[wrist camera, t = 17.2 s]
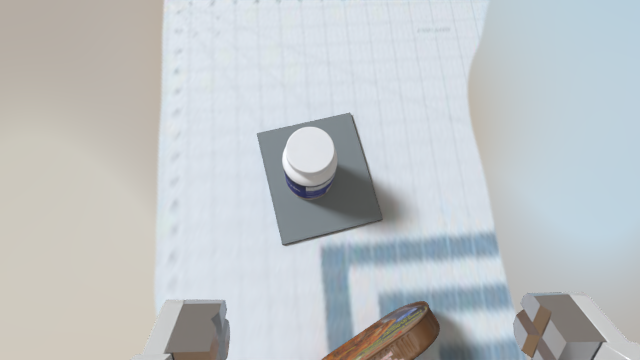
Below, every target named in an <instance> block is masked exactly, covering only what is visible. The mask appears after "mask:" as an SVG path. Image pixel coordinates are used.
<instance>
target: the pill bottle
mask: <svg viewBox="0 0 640 360" xmlns="http://www.w3.org/2000/svg"><path fill="white" fill-rule="evenodd" d="M282 163H283V169H284V174H285V179H286V183H287V186H288V188H289V189H290V190H291V192H292V193H293V194H294V195H296V196H297V197H299V198H302V199H308V200H311V199H317V198H319V197H321V196H323V195H324V194H326V193H327V192H328V190H329V189H330V187H331V185H332V183H333V180H334V176H335V172H336V167H337V153H336V150H335V148H334V143H333V141H332V139H331V137H330V136H329V135H328V134H327V133H326V132H325V131H323V130H322V129H319V128H316V127H304V128H301V129H298V130H297V131H295V132H294V133H293V134H292V135H291V136H290V138H289V139H288V141H287V144H286V147H285V149H284V152H283V157H282Z"/></svg>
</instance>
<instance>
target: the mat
mask: <svg viewBox="0 0 640 360" xmlns="http://www.w3.org/2000/svg"><path fill="white" fill-rule="evenodd" d="M304 127H316V128H319V129H322V130H323V131H325V132H326V133H327V134H328V135H329V136H330V137H331V139H332V141H333V143H334V148H335V150H336V153H337V167H336V172H335V176H334V180H333V183H332V185H331V187H330V189H329V190H328V192H327V193H326V194H324V195H323V196H321V197H319V198H317V199H311V200H308V199H302V198H299V197H297V196H296V195H294V194H293V193H292V192H291V190H290V189H289V188H288V186H287V183H286V179H285V174H284V169H283V163H282V157H283V152H284V149H285V147H286V144H287V141H288V139H289V138H290V136H291V135H292V134H293V133H294V132H295V131H297V130H298V129H301V128H304ZM257 137H258V141H259V145H260V150H261V154H262V158H263V163H264V167H265V171H266V176H267V180H268V184H269V189H270V193H271V197H272V202H273V206H274V210H275V215H276V219H277V223H278V228H279V232H280V236H281V241H282V245H284V244H288V243H292V242H296V241H300V240H303V239H307V238H311V237H315V236H319V235H323V234H327V233H331V232H335V231H339V230H343V229H347V228H351V227H354V226H358V225H362V224H366V223H370V222H374V221H378V220H382V215H381V212H380V209H379V206H378V202H377V199H376V196H375V192H374V189H373V186H372V183H371V179H370V176H369V173H368V170H367V166H366V163H365V160H364V156H363V153H362V150H361V147H360V143H359V140H358V137H357V133H356V130H355V127H354V124H353V120H352V117H351V114H350V113H346V114H342V115H337V116H333V117H328V118H324V119H319V120H315V121H310V122H306V123H302V124H297V125H293V126H288V127H284V128H279V129H275V130H270V131H266V132H261V133H257Z"/></svg>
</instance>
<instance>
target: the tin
mask: <svg viewBox="0 0 640 360" xmlns="http://www.w3.org/2000/svg"><path fill="white" fill-rule="evenodd" d="M439 330H440V326H439V323H438V321H437V320H436V318H435V316H434V315H433V313H432V312H431V310H430V308H429V305H428V303H427V302H424V301H420V302H415V303H411V304H408V305H405V306H403V307H401V308H399V309H397V310H395V311H393V312H391V313H389V314H388V315H386V316H385V317H383V318H382V319H380V320H379V321H377V322H376V323H374V324H373V325H371V326H370V327H368V328H367V329H365V330H364V331H363V332H361V333H359V334H358V335H357V336H355V337H354V338H352V339H351V340H349V341H348V342H346V343H345V344H343V345H342V346H340V347H339V348H337V349H336V350H334V351H333V352H331V353H330V354H328V355H327V356H326V357H324V358H323V359H322V360H413V359H415V358H416V357H418V356H419V355H420V354H421V353H423V352H424V351H425V350H426V349H427V348H428V347H429V346H430V345H431V344H432V343H433V342H434V341H435V339H436V338H437V336H438V334H439Z"/></svg>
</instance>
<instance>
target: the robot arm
mask: <svg viewBox="0 0 640 360" xmlns="http://www.w3.org/2000/svg"><path fill="white" fill-rule="evenodd" d="M521 305H522V307H523V310H522V311H521V312H519V313H518V314H517V315H516V317H515V320H514V323H513V327H514V335H515V338H516V341H517V343H518V345H519V347H520V349H521V351H523V352H524V353H525V354H527V355H528V356H530V357H531V360H640V345H639V344H638V343H636V342H629V341H628V340H627V339H626V338H625V337H624V336H623V334H622V333H621V332H620V331H619V330H618V329H617V328H616V326H615V325H614V324H613V323H612V322H611V321H610V320H609V318H608V317H607V316H606V315H605V314H604V313H603V312H602V311H601V309H600V308H599V307H598V306H597V305H596V304H595V302H594V301H593V300H592V299H591V298H590V297H589V296H588V295H587V294H585V293H583V292H564V293H561V292H555V293H527V294H526V295H525V296H523V298H522V301H521ZM226 311H227V308H226V302H225V300H166V302H165V303H164V304H163V305H162V308H161V310H160V312H159V315H158V317H157V319H156V322H155V324H154V327H153V329H152V331H151V334H150V336H149V338H148V341H147V343H146V346H145V348H144V350H143V353H142V354H137V355H135V356H134V357H132V358H131V359H130V360H226V359H227V355H228V350H229V340H230V327H229V321H228V320H227V319H225V316H226Z"/></svg>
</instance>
